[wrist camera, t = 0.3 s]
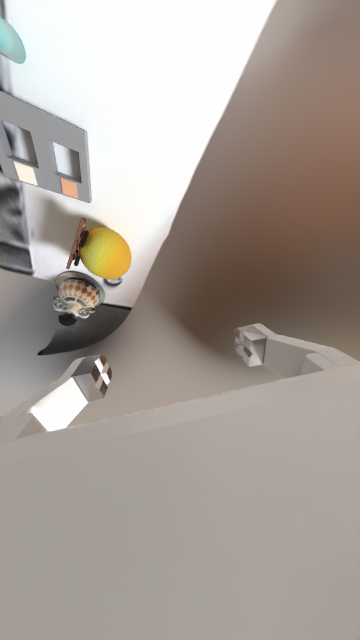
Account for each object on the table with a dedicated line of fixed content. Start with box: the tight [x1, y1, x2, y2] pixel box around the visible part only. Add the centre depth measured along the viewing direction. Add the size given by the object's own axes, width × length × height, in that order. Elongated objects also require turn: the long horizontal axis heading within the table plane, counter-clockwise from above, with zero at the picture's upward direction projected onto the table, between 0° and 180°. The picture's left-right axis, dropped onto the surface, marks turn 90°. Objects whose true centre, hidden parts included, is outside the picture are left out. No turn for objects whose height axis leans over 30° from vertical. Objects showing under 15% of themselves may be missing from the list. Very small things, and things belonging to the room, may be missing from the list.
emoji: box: [66, 218, 131, 279], centre depth 47 cm, size 16×16×15 cm
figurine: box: [53, 272, 105, 326], centre depth 57 cm, size 18×18×20 cm
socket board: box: [0, 90, 92, 203], centre depth 34 cm, size 13×17×3 cm
